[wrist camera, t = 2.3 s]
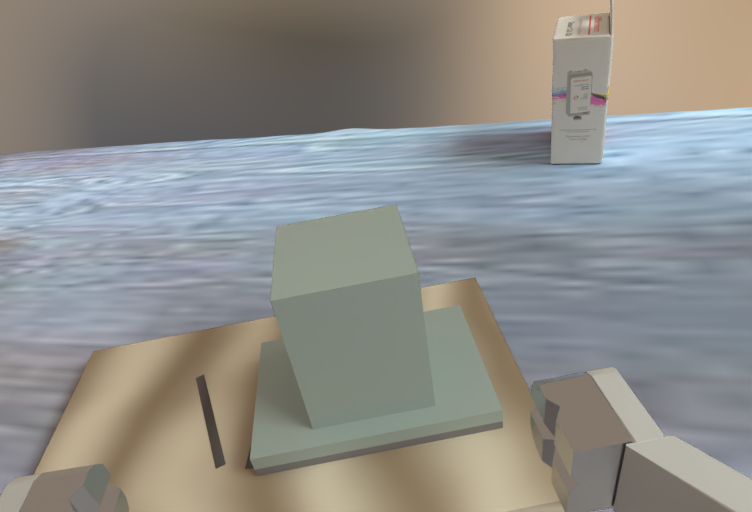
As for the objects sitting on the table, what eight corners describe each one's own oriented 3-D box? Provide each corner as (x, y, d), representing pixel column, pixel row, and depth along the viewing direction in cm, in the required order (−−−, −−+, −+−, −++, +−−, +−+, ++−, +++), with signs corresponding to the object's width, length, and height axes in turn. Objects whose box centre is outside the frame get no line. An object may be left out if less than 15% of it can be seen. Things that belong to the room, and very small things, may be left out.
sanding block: (461, 321, 32) (450, 184, 27) (502, 427, 25) (499, 272, 20) (267, 358, 32) (219, 227, 26) (257, 475, 25) (191, 331, 20)
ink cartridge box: (552, 131, 57) (558, -19, 49) (601, 130, 55) (616, -25, 47) (547, 165, 51) (553, -1, 42) (603, 165, 49) (620, -8, 41)
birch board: (476, 294, 36) (475, 277, 35) (577, 516, 23) (580, 496, 22) (103, 367, 36) (93, 350, 35) (-17, 635, 22) (-38, 619, 21)
